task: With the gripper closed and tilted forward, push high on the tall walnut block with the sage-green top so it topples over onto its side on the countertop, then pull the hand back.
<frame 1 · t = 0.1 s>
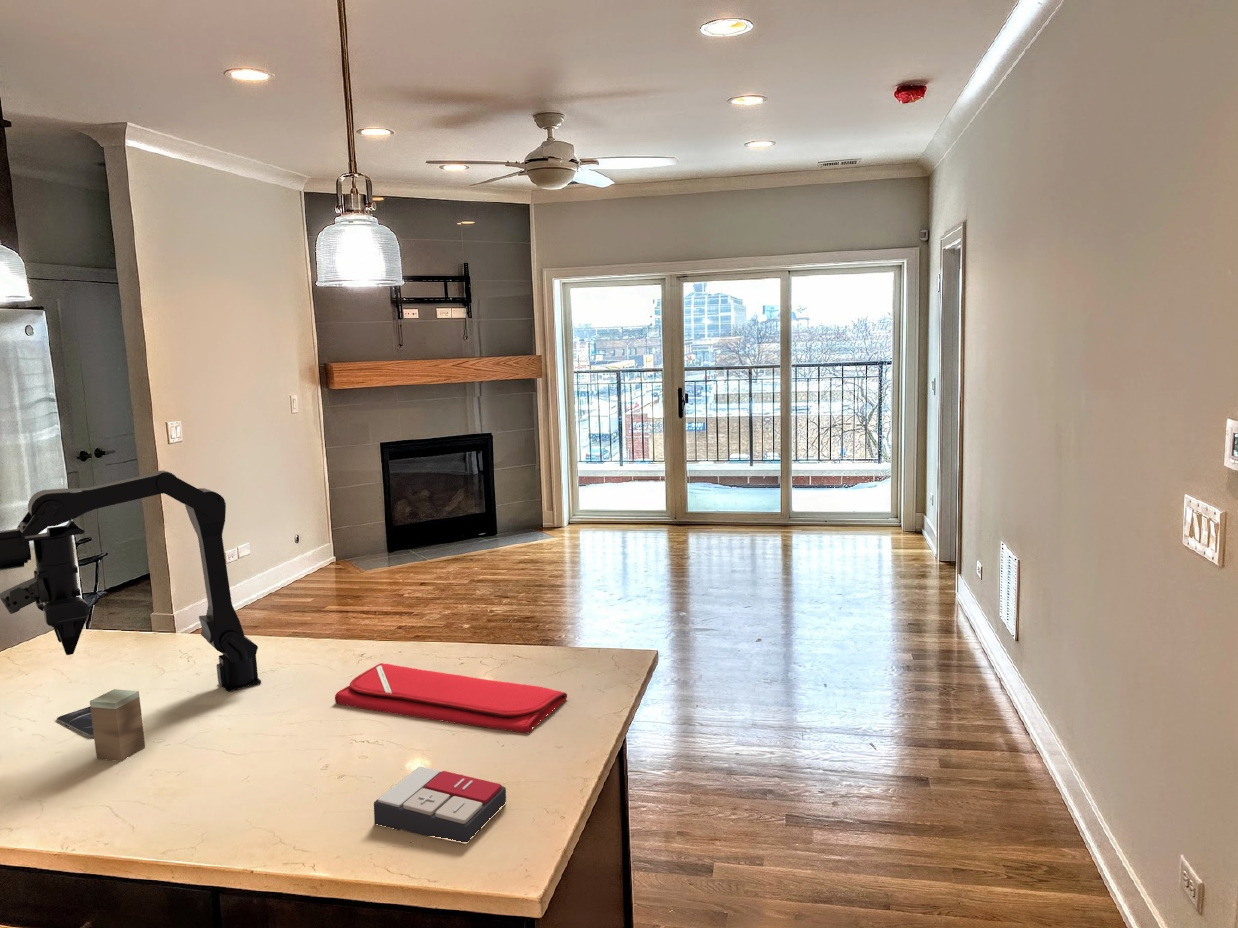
hand: (66, 648, 154), 15 cm above the counter, tool pointing down, fingers open, 9 cm apart
smartphone: (94, 724, 158), on the counter
calculator: (441, 818, 122), on the counter
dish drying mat: (450, 705, 161), on the counter
walnut block: (121, 753, 145), on the counter
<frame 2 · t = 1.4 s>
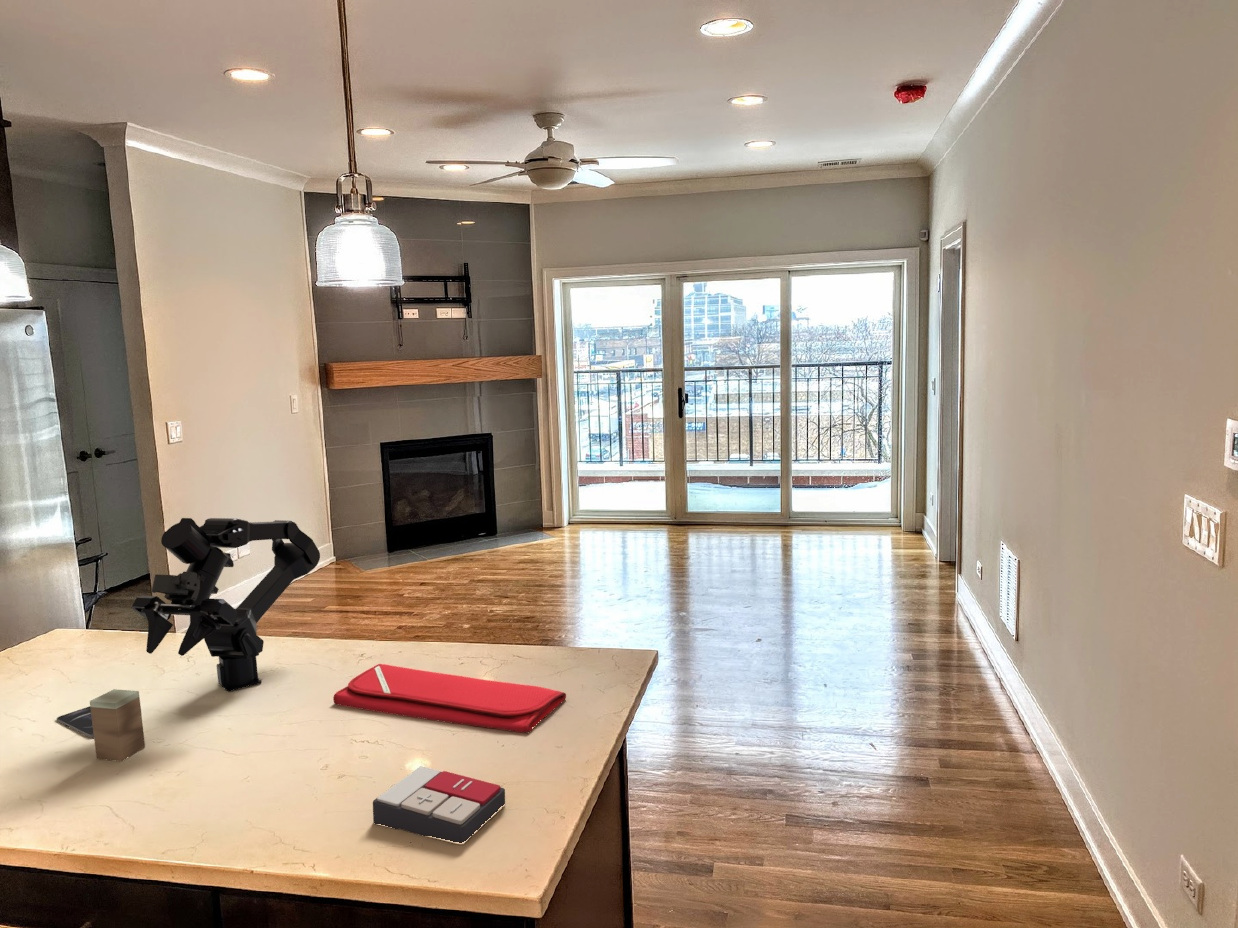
hand: (164, 653, 154), 13 cm above the counter, tool tilted 45°, fingers open, 6 cm apart
nothing on the counter moved.
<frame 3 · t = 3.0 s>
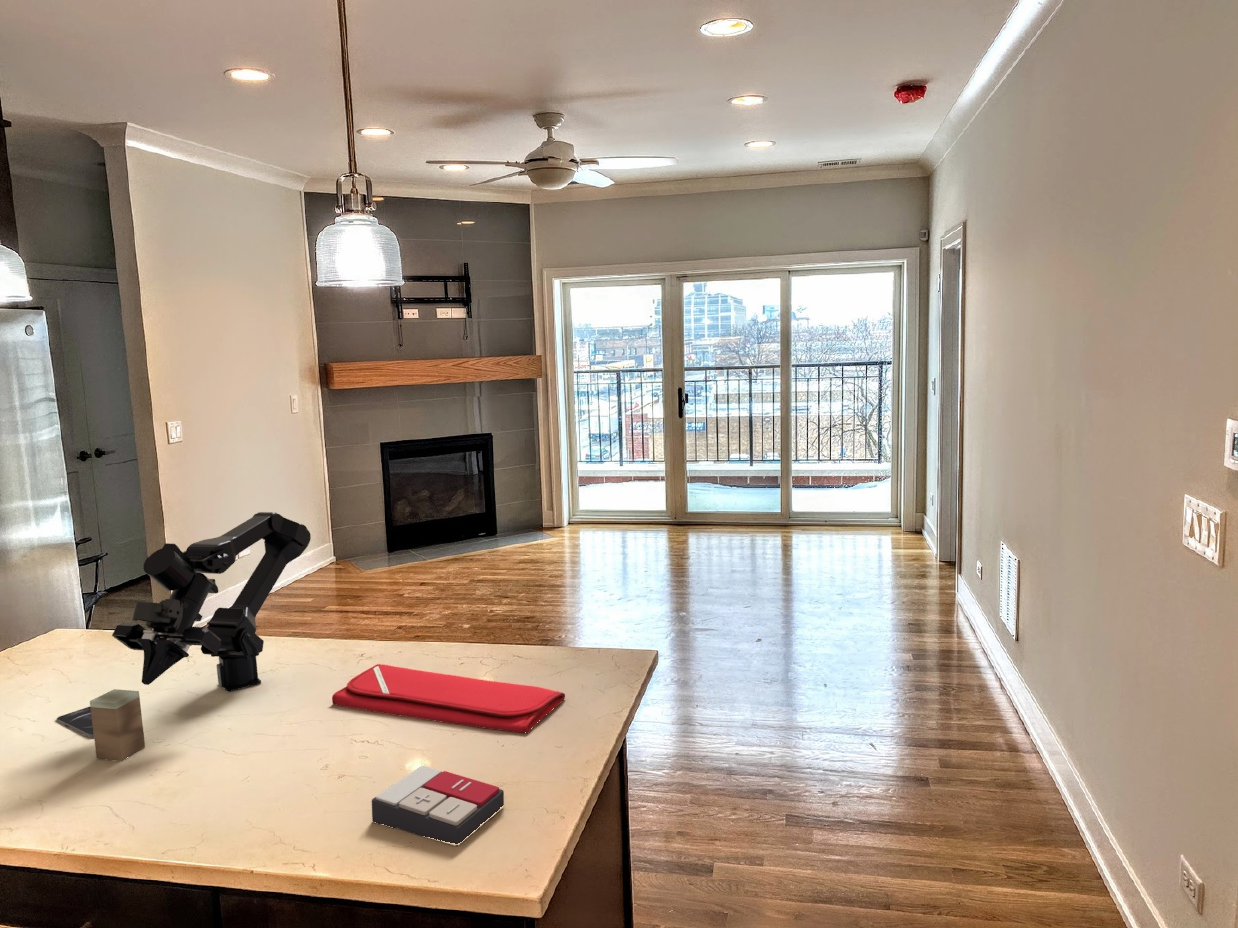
hand: (145, 683, 150), 9 cm above the counter, tool tilted 45°, fingers closed
nothing on the counter moved.
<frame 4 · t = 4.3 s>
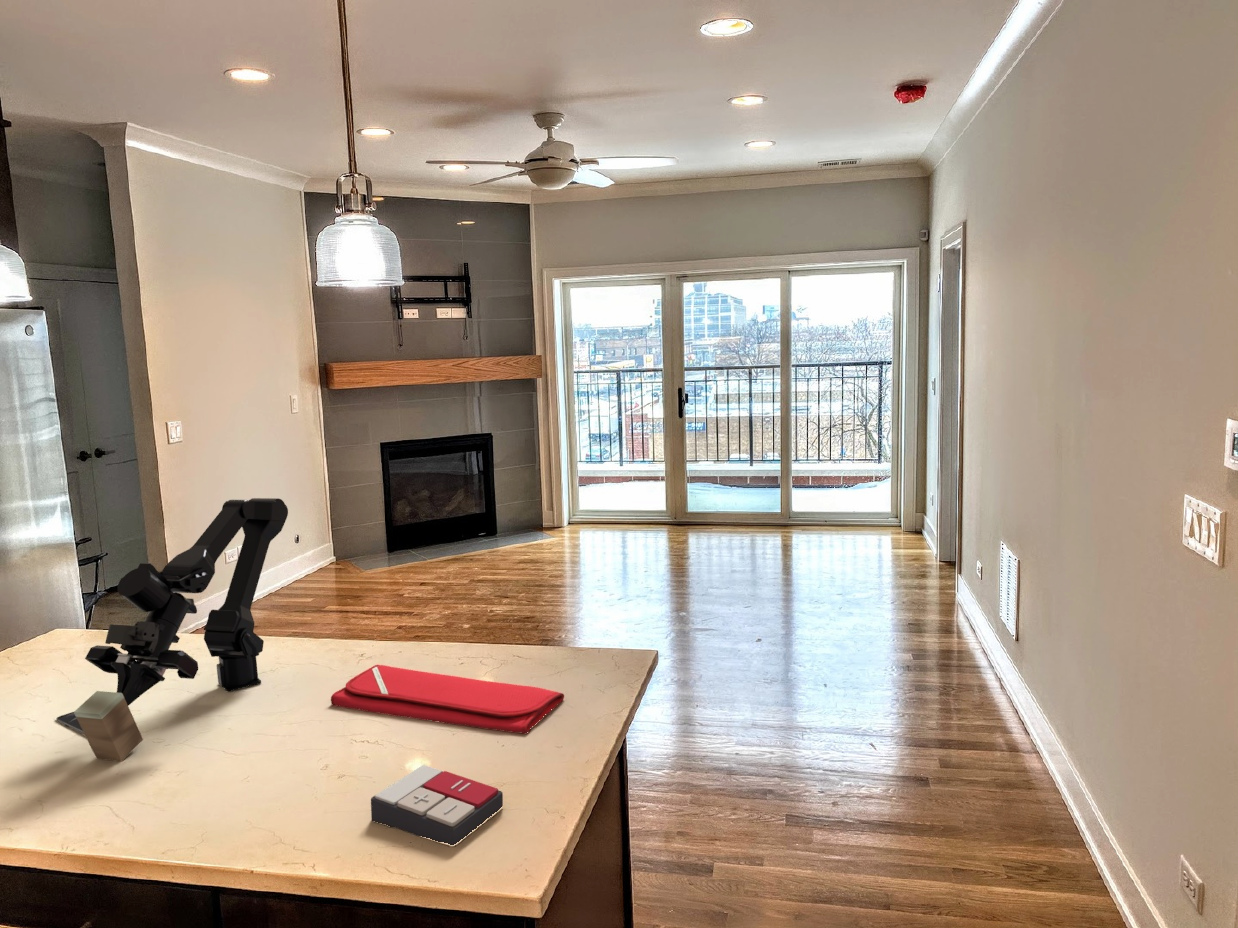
hand: (118, 709, 144), 7 cm above the counter, tool tilted 45°, fingers closed
walnut block: (120, 749, 145), point 1 cm above the counter, tilted 18°, touching gripper
everything else where it was.
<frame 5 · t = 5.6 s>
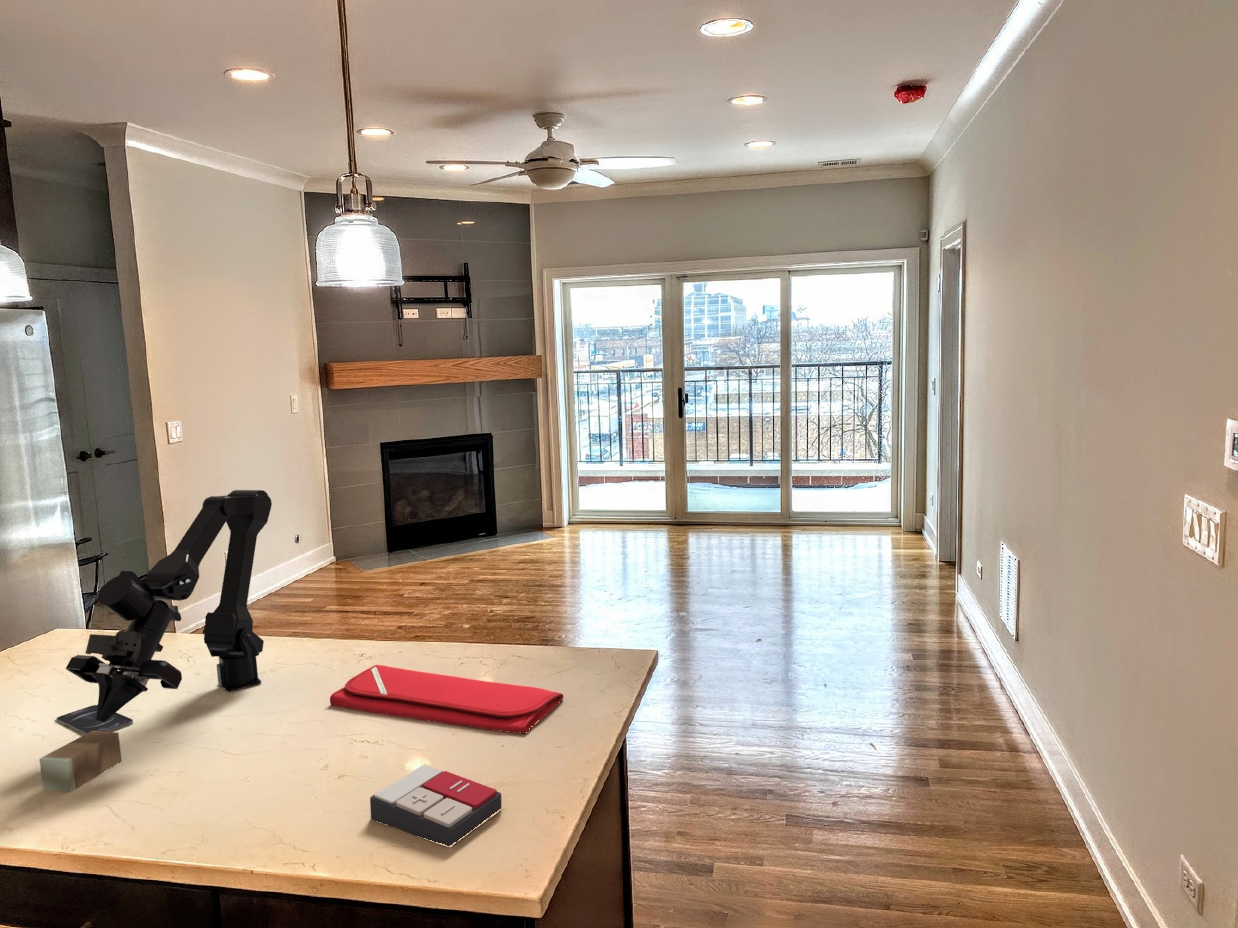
hand: (99, 721, 141), 7 cm above the counter, tool tilted 45°, fingers closed
walnut block: (107, 746, 142), point 2 cm above the counter, tilted 90°
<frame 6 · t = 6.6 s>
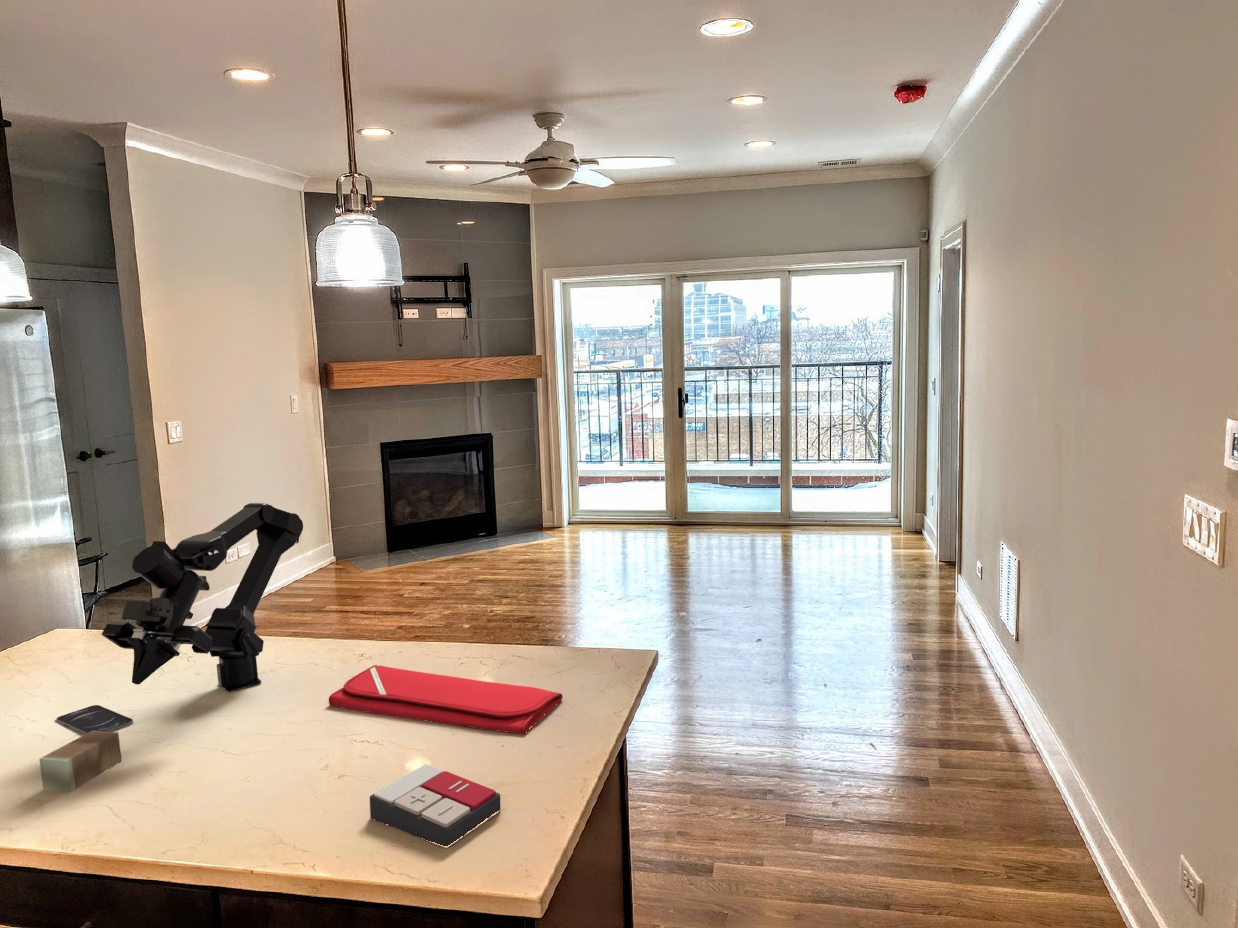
hand: (135, 683, 148), 10 cm above the counter, tool tilted 45°, fingers closed
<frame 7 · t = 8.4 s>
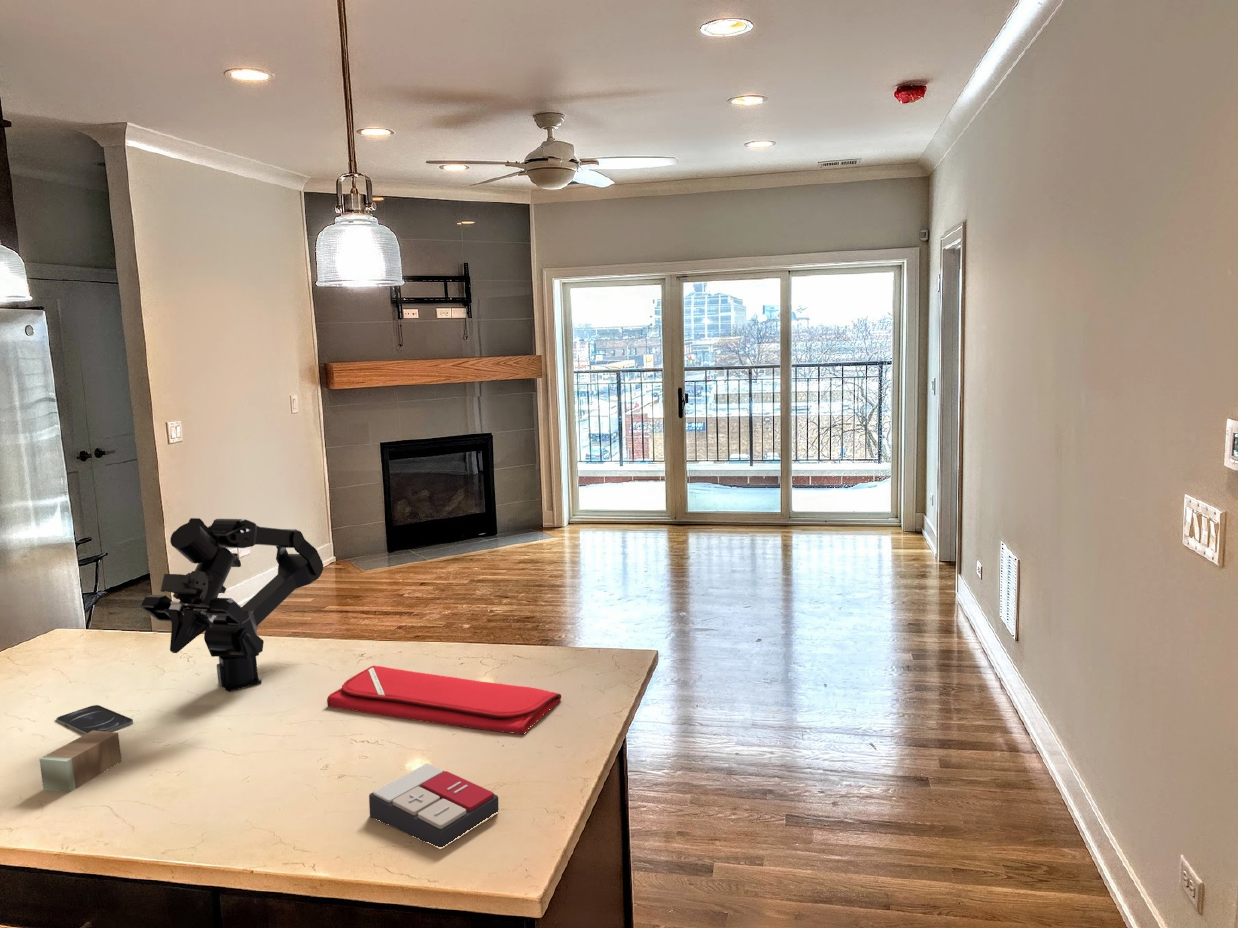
hand: (173, 652, 156), 13 cm above the counter, tool tilted 45°, fingers closed
at the end: walnut block tilted 90°; walnut block inside the target area (3.4 cm from its centre), point 2.4 cm above the counter; the gripper is holding nothing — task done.
